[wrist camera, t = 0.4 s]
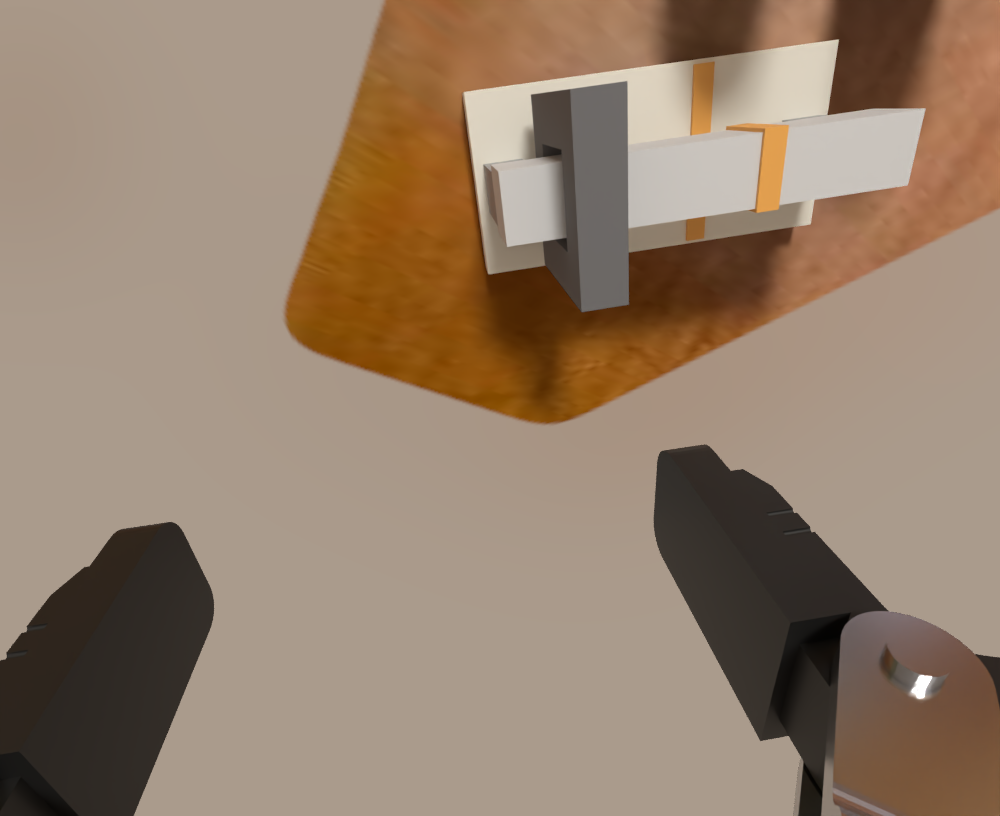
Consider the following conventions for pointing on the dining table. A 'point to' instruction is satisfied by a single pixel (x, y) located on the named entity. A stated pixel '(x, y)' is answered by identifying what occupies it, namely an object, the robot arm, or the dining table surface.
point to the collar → (589, 190)
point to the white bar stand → (691, 152)
